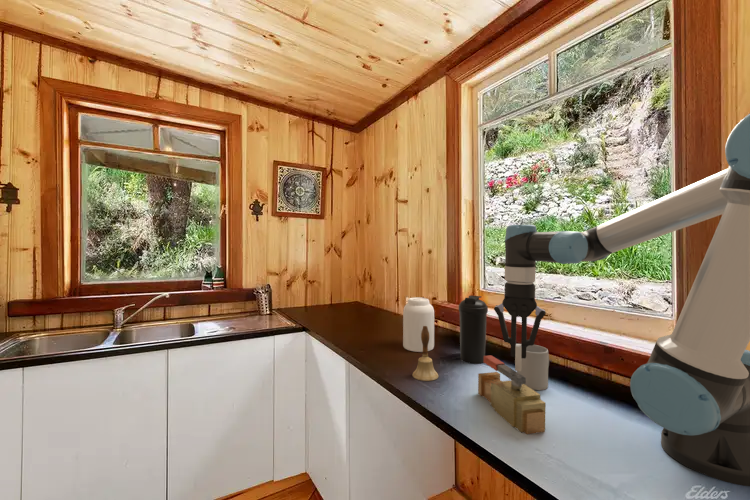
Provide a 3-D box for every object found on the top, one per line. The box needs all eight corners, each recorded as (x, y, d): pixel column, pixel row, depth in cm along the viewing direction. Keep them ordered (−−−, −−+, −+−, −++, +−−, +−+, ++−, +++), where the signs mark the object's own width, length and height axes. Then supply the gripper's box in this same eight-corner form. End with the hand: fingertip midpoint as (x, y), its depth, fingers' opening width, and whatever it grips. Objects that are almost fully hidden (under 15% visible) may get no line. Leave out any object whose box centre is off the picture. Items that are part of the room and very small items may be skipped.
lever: (526, 391, 79) (526, 376, 79) (517, 392, 78) (517, 377, 78) (491, 367, 94) (491, 355, 94) (483, 368, 93) (483, 355, 93)
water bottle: (490, 358, 121) (490, 296, 121) (483, 366, 113) (483, 300, 112) (463, 353, 127) (463, 293, 126) (454, 361, 118) (454, 297, 118)
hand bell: (407, 375, 106) (407, 326, 105) (423, 368, 111) (424, 321, 111) (426, 383, 100) (427, 331, 99) (443, 376, 105) (444, 326, 104)
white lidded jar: (426, 354, 125) (426, 302, 124) (397, 349, 131) (397, 299, 131) (438, 346, 135) (439, 297, 135) (411, 341, 142) (411, 295, 141)
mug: (536, 393, 93) (537, 354, 93) (510, 382, 101) (511, 346, 100) (560, 383, 100) (561, 347, 99) (534, 373, 107) (534, 340, 107)
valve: (549, 431, 75) (549, 400, 74) (522, 435, 73) (522, 404, 73) (498, 391, 94) (498, 367, 94) (476, 394, 93) (476, 369, 93)
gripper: (546, 282, 89) (544, 368, 89) (495, 279, 94) (494, 360, 95) (547, 285, 82) (545, 378, 83) (492, 282, 88) (491, 369, 88)
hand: (518, 369), depth 89 cm, fingers closed
